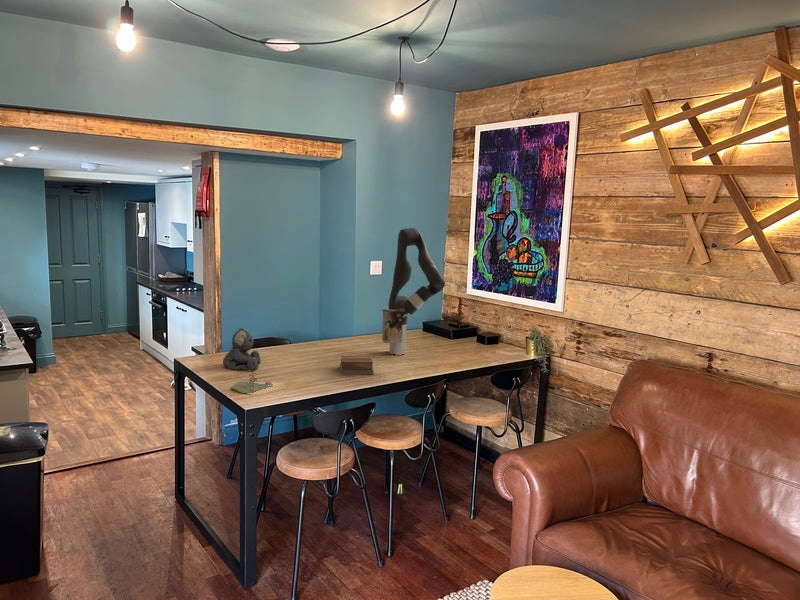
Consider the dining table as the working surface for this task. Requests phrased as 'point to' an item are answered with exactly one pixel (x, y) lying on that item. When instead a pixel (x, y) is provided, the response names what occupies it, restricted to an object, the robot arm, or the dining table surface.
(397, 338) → the coffee box
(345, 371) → the baseplate
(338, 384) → the dining table surface
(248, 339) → the koala plush
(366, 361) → the walnut brick
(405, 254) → the robot arm
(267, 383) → the plant
